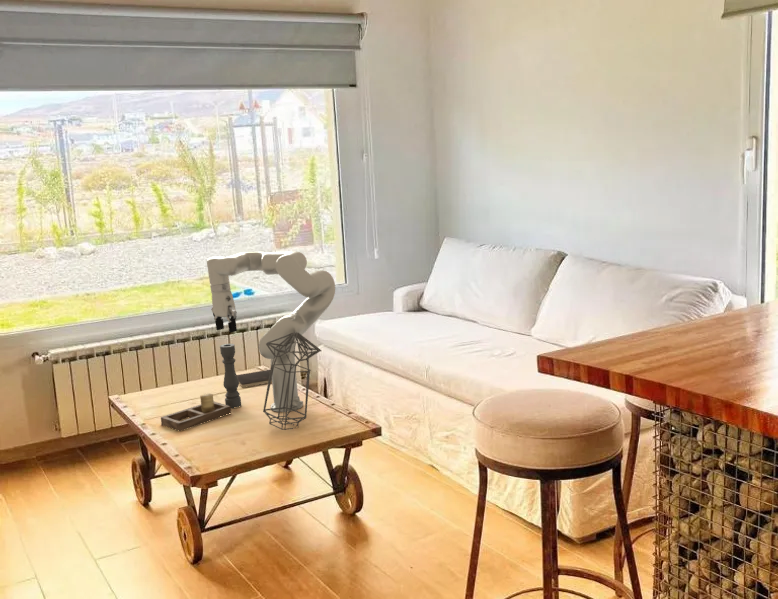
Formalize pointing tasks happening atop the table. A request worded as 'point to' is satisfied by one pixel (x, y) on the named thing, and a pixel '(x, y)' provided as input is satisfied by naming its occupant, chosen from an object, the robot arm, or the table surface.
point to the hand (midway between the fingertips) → (226, 330)
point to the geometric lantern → (303, 339)
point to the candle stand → (196, 414)
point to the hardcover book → (254, 378)
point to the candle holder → (230, 376)
